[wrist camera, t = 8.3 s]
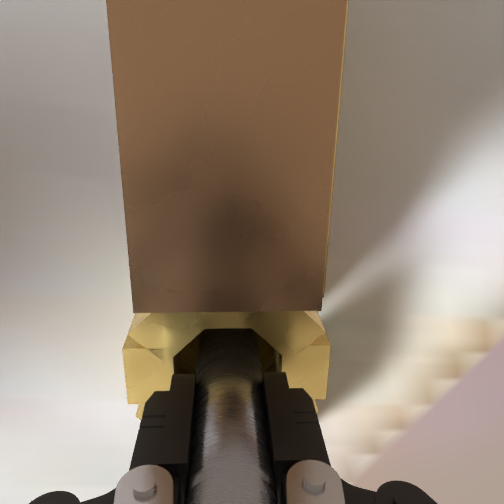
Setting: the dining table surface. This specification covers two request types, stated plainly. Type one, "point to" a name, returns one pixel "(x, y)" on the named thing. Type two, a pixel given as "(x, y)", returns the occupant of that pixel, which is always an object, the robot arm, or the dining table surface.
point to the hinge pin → (230, 423)
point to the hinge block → (227, 178)
